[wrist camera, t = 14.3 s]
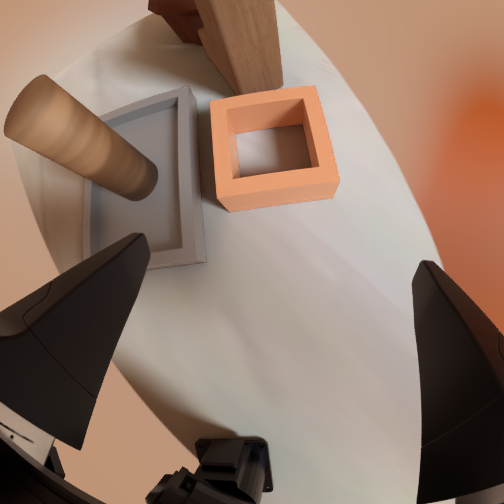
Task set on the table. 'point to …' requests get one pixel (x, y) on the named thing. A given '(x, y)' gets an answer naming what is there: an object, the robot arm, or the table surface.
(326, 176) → the orange square ring
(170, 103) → the tray
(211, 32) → the wooden block
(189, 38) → the muffin
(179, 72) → the table surface
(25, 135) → the dowel pin
